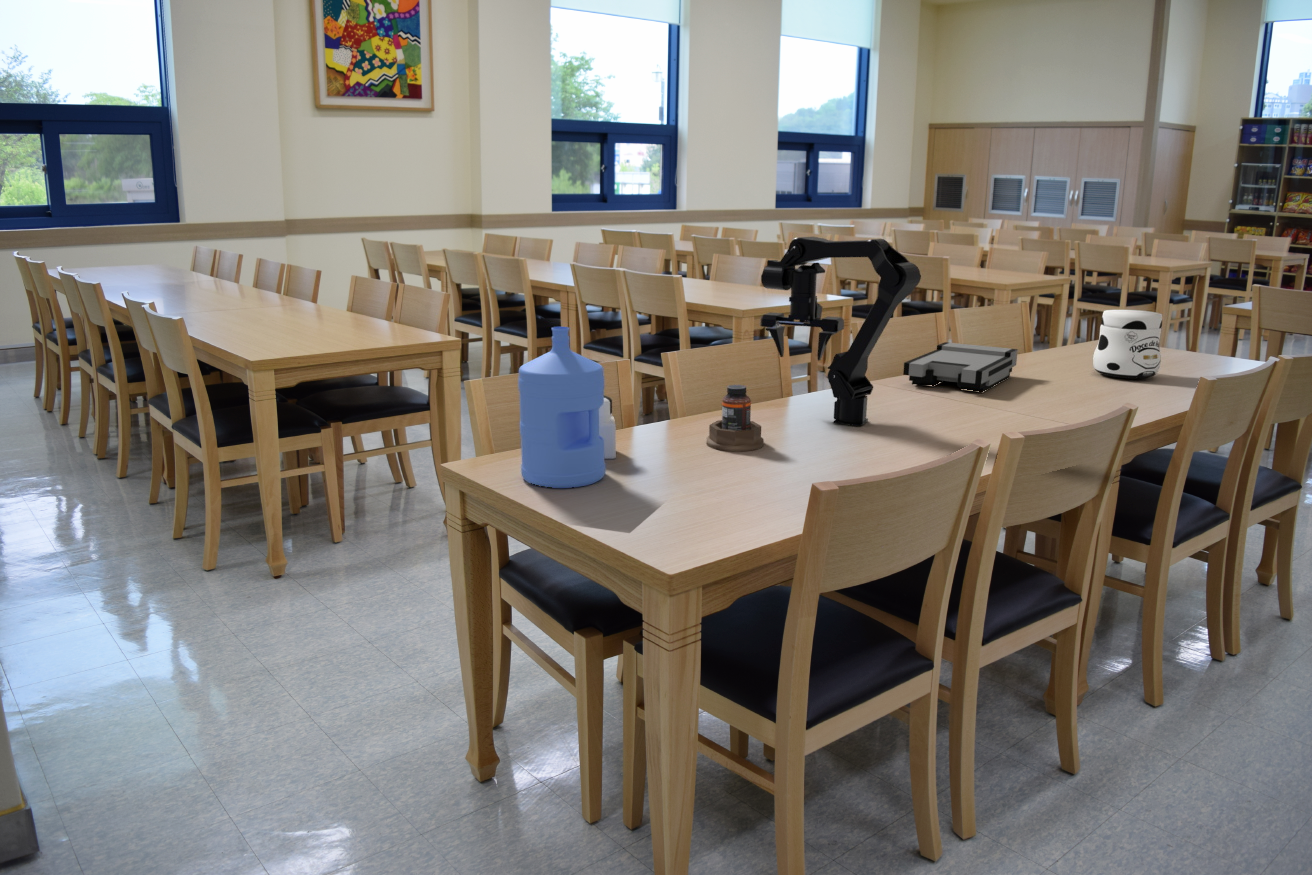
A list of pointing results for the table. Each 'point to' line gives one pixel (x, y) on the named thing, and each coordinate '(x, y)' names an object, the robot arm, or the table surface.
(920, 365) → the game console
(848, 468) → the table surface
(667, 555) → the table surface
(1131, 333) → the cow print jar
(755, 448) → the ring
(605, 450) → the medicine bottle
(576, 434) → the water jug
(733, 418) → the supplement bottle
